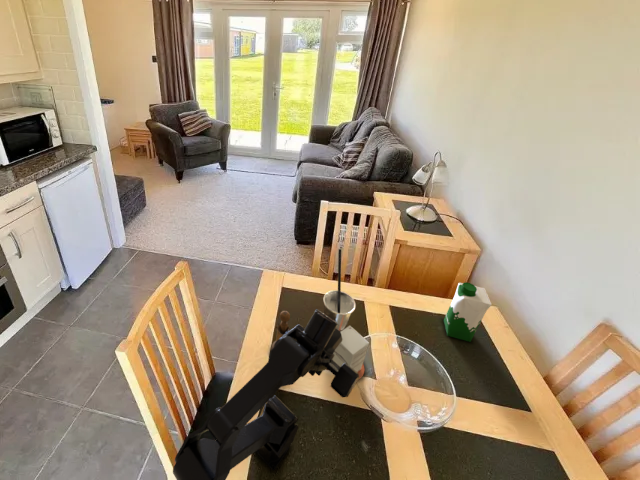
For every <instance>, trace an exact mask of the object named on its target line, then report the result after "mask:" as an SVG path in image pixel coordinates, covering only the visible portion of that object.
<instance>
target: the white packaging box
mask: <svg viewBox="0 0 640 480" xmlns="http://www.w3.org/2000/svg"><path fill="white" fill-rule="evenodd" d="M341 335H342V342H341V343H340V344H339V345H338V347H337V348H336V349H335V352H334V353H333V354H334V355H335V356H334V357H333V359H332V360H333V361H334V362H336V363H337V364H338V365H339V366H340V367H341V366H342V365H343V364H344V363H347V364H348V365H349V366H350V367H351V368H353V369H354V370H355V371H356V372H358V371H359V370H361V367H362V364H363V365H364V361H365V359H366V355H367V353H368V352H367V351H368V349H369V346H370V342H369V341H368V340H367V339H366V338H365V337H364V336H362V335H361V333H360V332H358V331H357V330H356V329H355V328H354V327H352V325H347V326H346V328H345V329H344V330H343V331H341ZM330 364H331V363H330ZM333 367H334V365H333ZM334 368H335V367H334ZM335 369H336V368H335ZM336 370H337V371H338V369H336Z"/></svg>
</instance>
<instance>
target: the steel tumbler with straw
mask: <svg viewBox="0 0 640 480" xmlns="http://www.w3.org/2000/svg"><path fill="white" fill-rule="evenodd" d="M337 251H338V253H337V255H338V256H337V257H338V258H337V260H338V262H337V266H338V267H337V289H334V290H329V291H327V292H326V293H325V294H324V295H323V304H324V306H323V313H324V314H326V315H327V316H329V317H330V318H331V319H333V320H334V321H335V322H337V323H338V325H337V327H336V329H338V330H339V331H340V332H341V331H343V330H344V329H346V328H347V327H348V324H349V321H350V319H351V317H352V315H353V313H354V312H355V310H356V307H357V304H356V301H355V299H354V298H353V297H352V296H351V295H350V294H348V293H347V292H345V291H342V290H341V288H342V248H338V250H337Z"/></svg>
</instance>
